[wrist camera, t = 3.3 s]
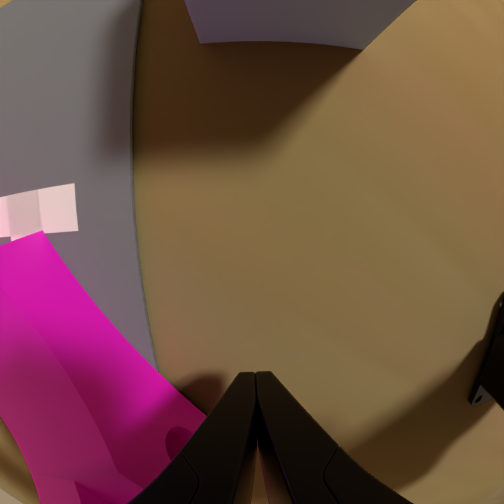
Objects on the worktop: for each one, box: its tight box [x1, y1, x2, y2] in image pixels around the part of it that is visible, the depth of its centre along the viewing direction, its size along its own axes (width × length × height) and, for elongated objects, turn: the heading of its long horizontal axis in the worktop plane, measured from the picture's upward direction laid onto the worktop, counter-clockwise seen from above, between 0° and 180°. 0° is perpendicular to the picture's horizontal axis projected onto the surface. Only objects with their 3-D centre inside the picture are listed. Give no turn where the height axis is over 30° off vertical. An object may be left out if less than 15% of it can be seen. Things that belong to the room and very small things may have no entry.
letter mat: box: [0, 0, 159, 373], centre depth 8 cm, size 9×23×1 cm, turn 1°
